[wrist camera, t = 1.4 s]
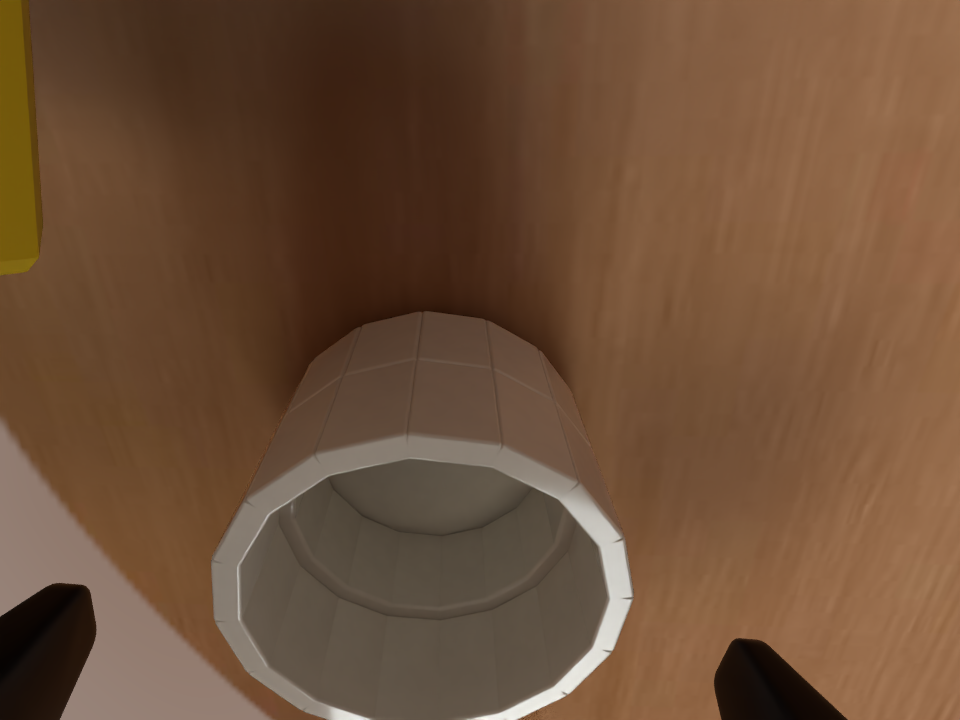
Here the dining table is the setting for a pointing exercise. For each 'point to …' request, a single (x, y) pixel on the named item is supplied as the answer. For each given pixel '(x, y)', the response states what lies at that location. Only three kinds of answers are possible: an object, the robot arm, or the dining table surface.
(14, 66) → the yellow framed monitor
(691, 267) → the dining table surface
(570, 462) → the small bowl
